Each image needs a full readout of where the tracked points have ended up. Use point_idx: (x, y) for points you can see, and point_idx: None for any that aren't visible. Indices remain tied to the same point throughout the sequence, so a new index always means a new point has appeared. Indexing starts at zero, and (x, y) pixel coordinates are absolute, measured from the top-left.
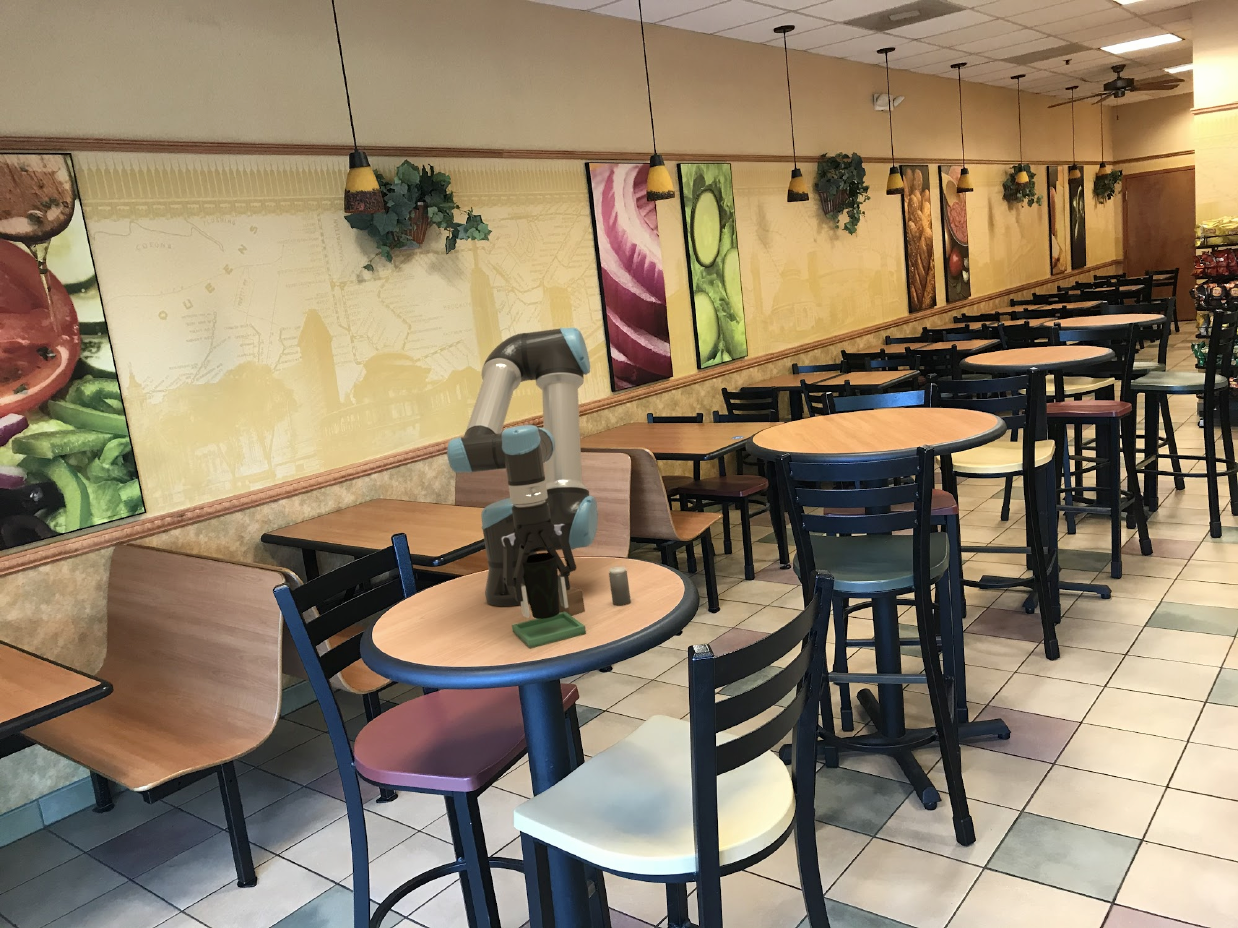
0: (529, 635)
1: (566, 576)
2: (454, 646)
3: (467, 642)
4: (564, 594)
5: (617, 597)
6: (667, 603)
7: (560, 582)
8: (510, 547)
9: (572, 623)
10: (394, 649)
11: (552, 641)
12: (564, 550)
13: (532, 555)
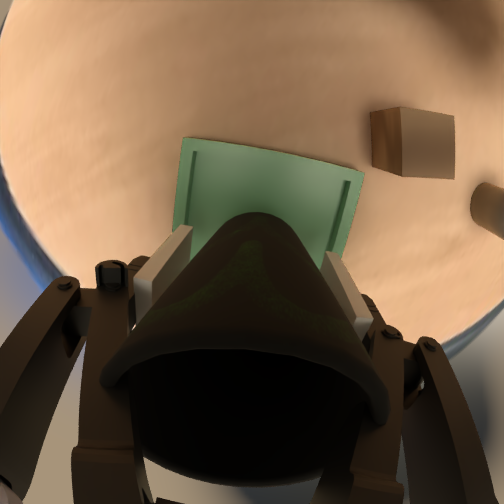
0: (200, 228)
1: None
2: (57, 126)
3: (82, 120)
4: None
5: (483, 221)
6: (496, 289)
7: None
8: (16, 491)
9: None
10: (3, 65)
11: None
12: (417, 454)
13: (262, 351)
